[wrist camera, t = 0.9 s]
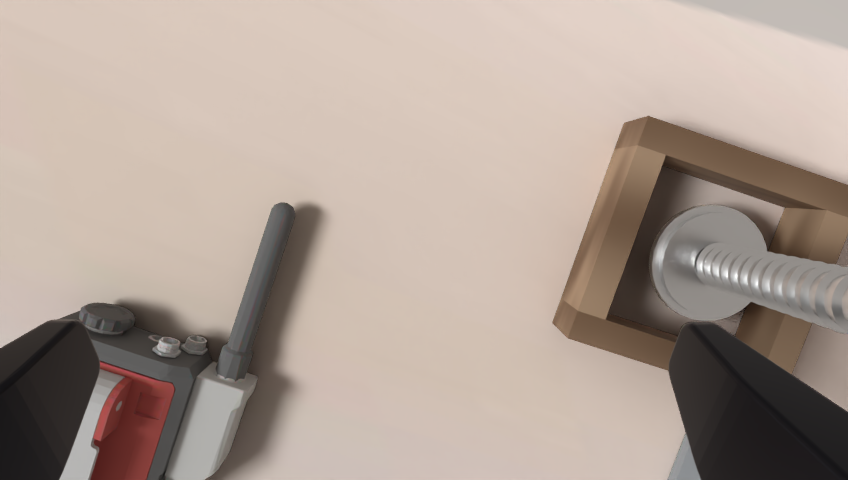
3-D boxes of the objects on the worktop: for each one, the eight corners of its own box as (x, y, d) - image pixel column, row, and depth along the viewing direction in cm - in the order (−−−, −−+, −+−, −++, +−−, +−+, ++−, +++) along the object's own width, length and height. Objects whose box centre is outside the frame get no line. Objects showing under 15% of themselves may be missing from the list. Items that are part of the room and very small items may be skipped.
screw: (699, 181, 25) (758, 267, 25) (610, 246, 25) (670, 330, 25) (1020, 178, 12) (1129, 357, 12) (829, 314, 12) (943, 485, 12)
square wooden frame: (742, 384, 26) (778, 405, 23) (552, 322, 25) (568, 338, 23) (819, 190, 25) (865, 191, 22) (623, 122, 24) (648, 116, 22)
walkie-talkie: (184, 603, 26) (316, 210, 25) (139, 686, 22) (296, 216, 20) (3, 549, 26) (125, 143, 24) (-80, 623, 22) (62, 134, 20)
